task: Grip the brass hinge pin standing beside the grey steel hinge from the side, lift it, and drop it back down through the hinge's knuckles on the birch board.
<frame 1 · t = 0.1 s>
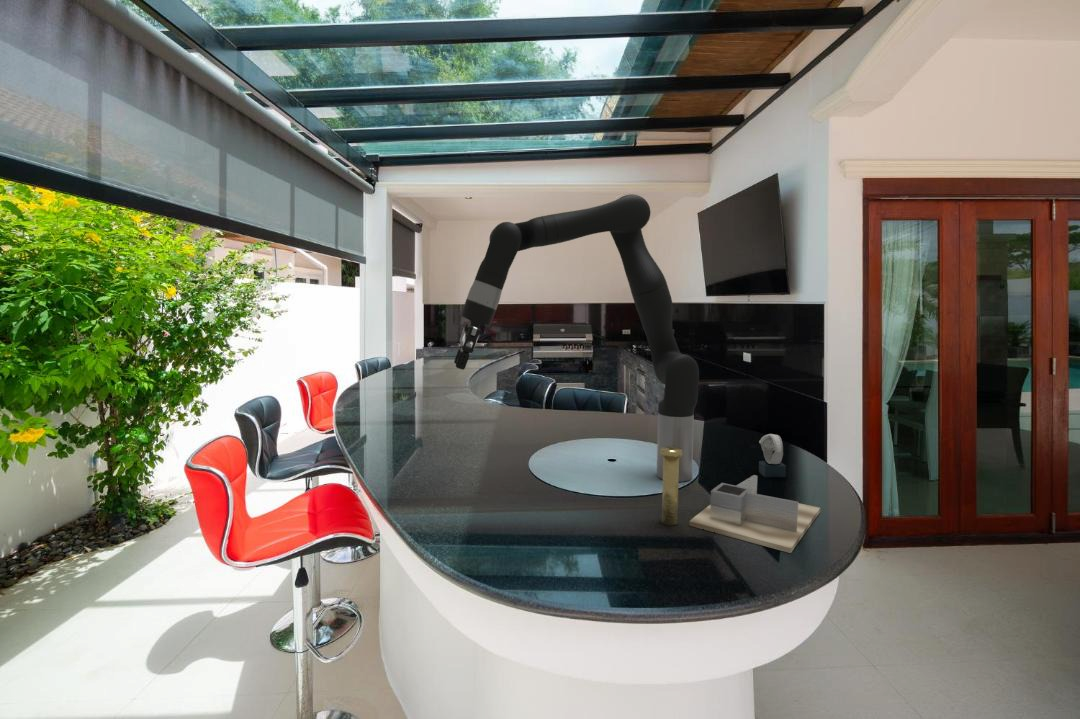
hand: (458, 366, 130), 31 cm above the worktop, tool tilted 20°, fingers open, 8 cm apart
hinge: (730, 521, 116), resting on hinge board
watch: (771, 475, 146), on the worktop
hinge pin: (669, 522, 115), on the worktop
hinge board: (756, 518, 117), on the worktop
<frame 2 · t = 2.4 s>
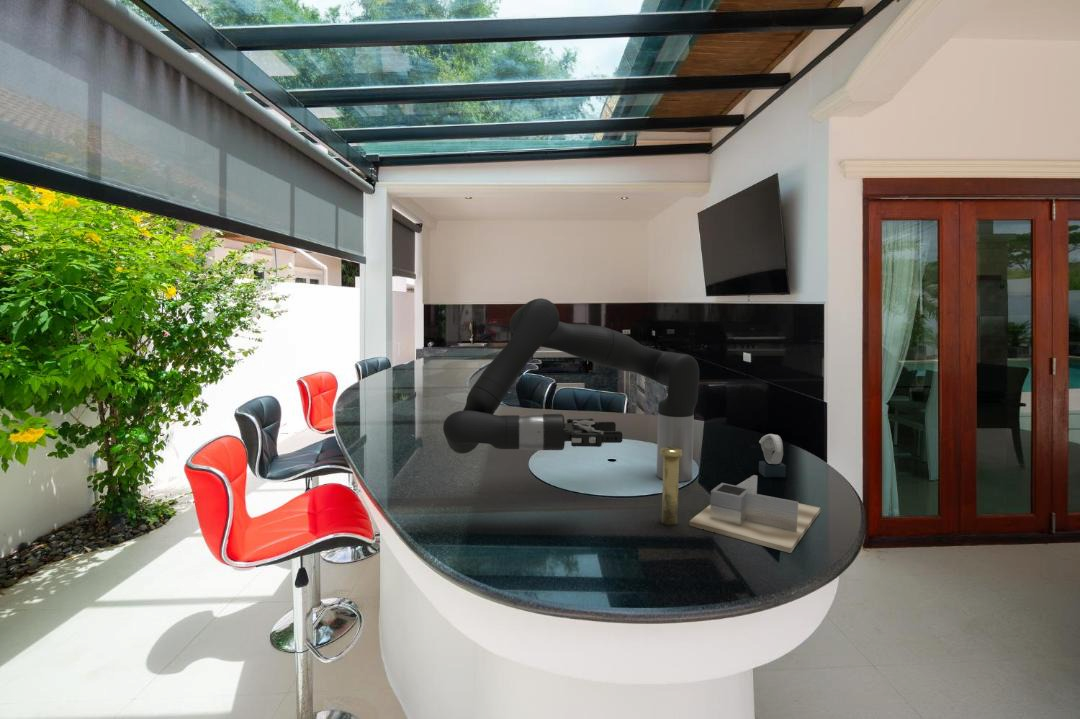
hand: (618, 431, 113), 20 cm above the worktop, tool horizontal, fingers open, 8 cm apart
nothing on the worktop moved.
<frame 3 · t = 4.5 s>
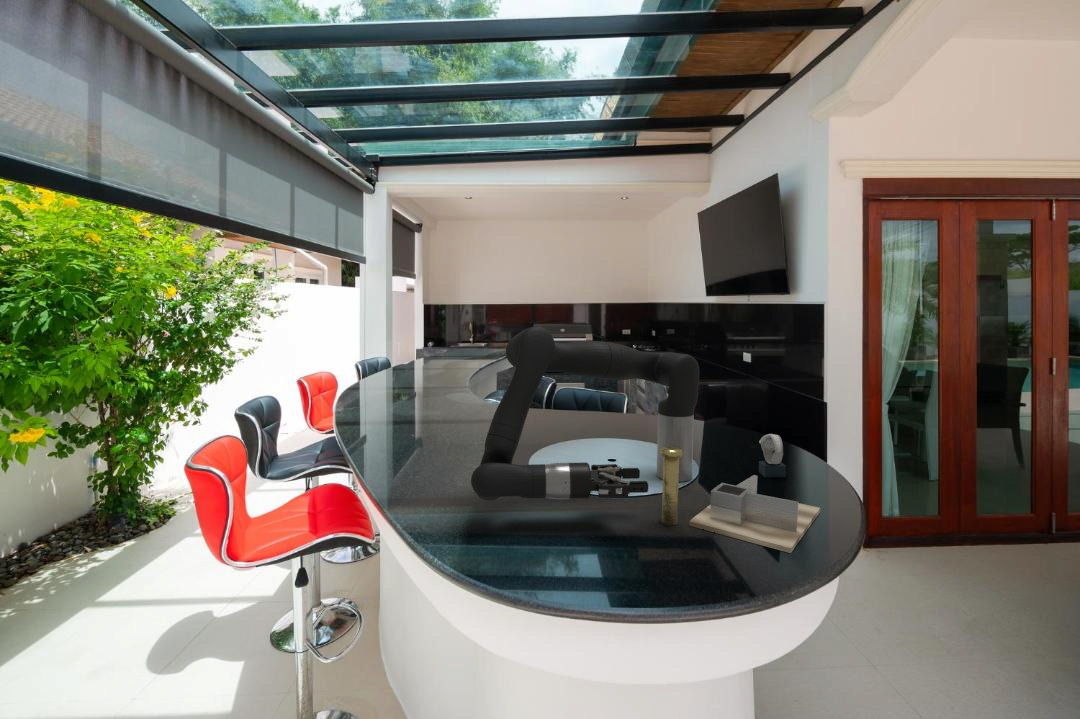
hand: (643, 479, 114), 9 cm above the worktop, tool horizontal, fingers open, 8 cm apart
nothing on the worktop moved.
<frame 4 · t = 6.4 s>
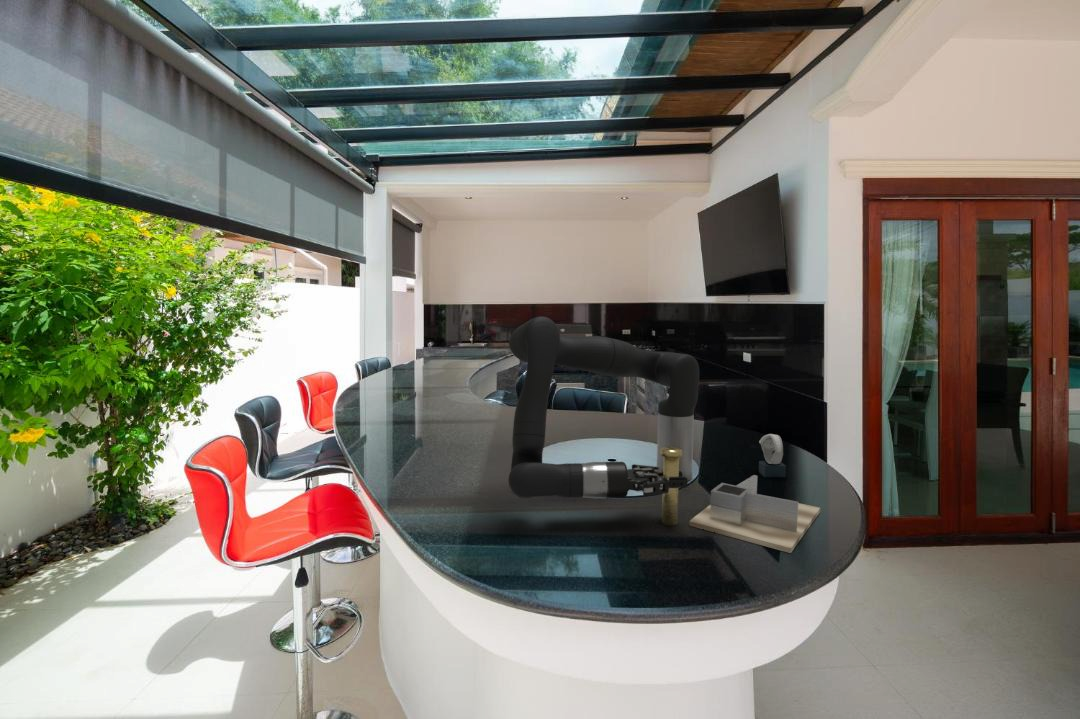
hand: (683, 479, 114), 10 cm above the worktop, tool horizontal, fingers closed on hinge pin, 3 cm apart
hinge pin: (669, 522, 115), on the worktop, touching gripper
everything else where it was.
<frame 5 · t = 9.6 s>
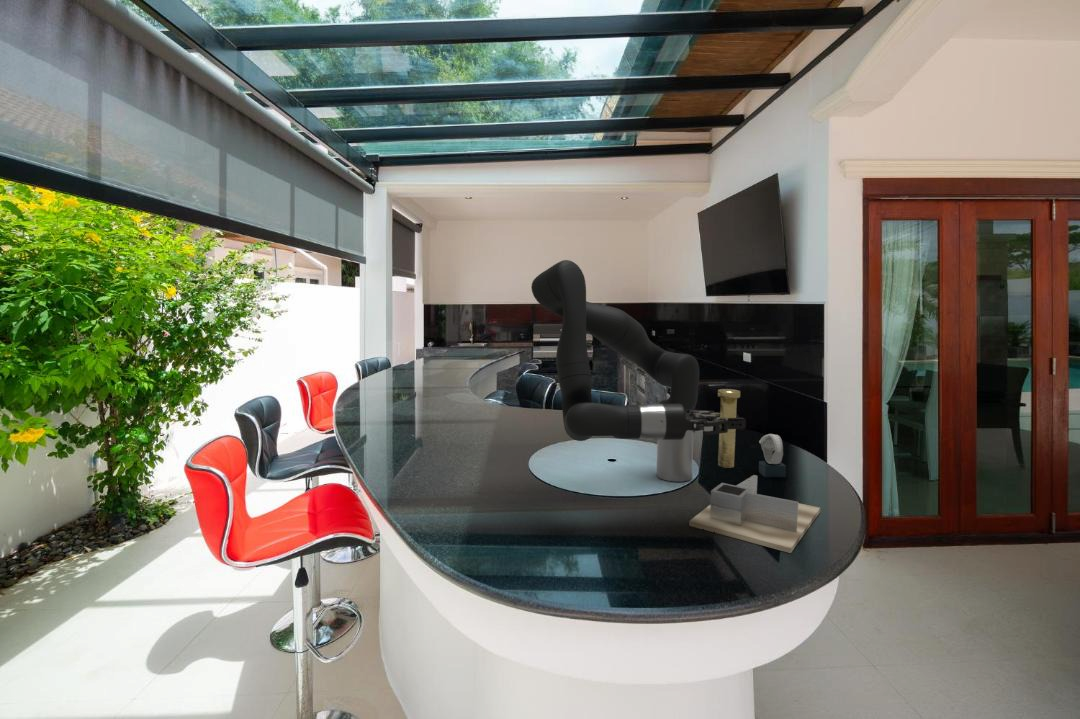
hand: (741, 421, 113), 22 cm above the worktop, tool horizontal, fingers closed on hinge pin, 3 cm apart
hinge pin: (726, 465, 114), point 12 cm above the worktop, touching gripper
everything else where it was.
when the fingers open (12 cm above the worktop, at t = 12.8 s): hinge pin drops 2 cm, resting on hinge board.
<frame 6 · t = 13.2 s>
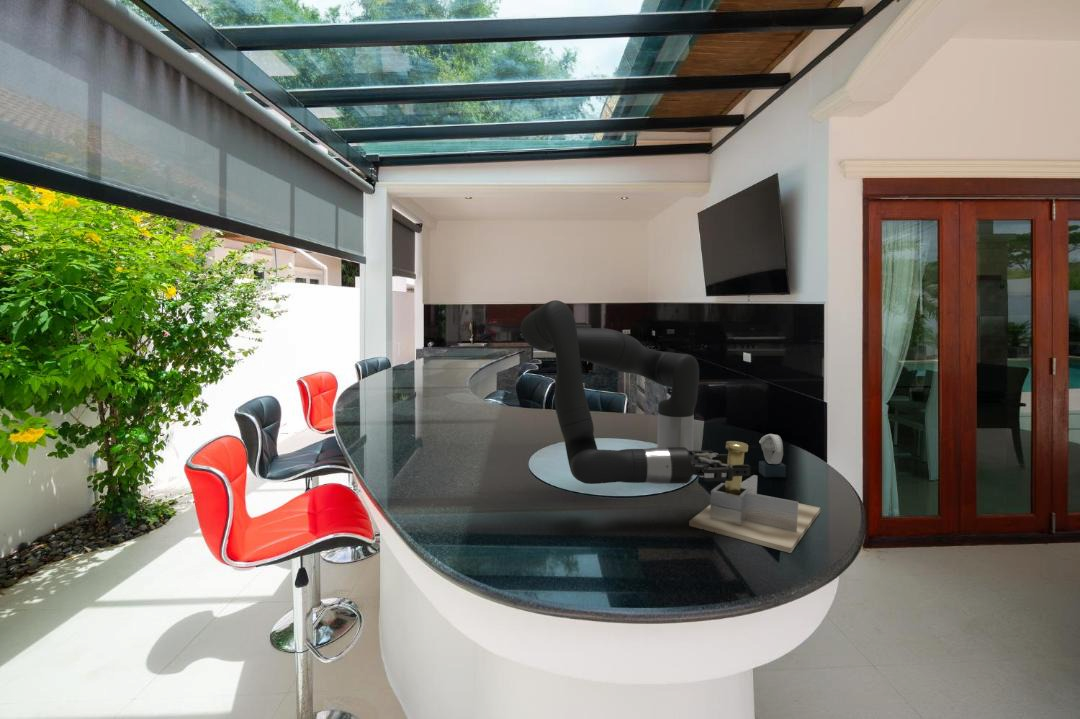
hand: (742, 464, 114), 13 cm above the worktop, tool horizontal, fingers open, 7 cm apart
hinge pin: (729, 516, 116), point 1 cm above the worktop, touching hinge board
everything else where it was.
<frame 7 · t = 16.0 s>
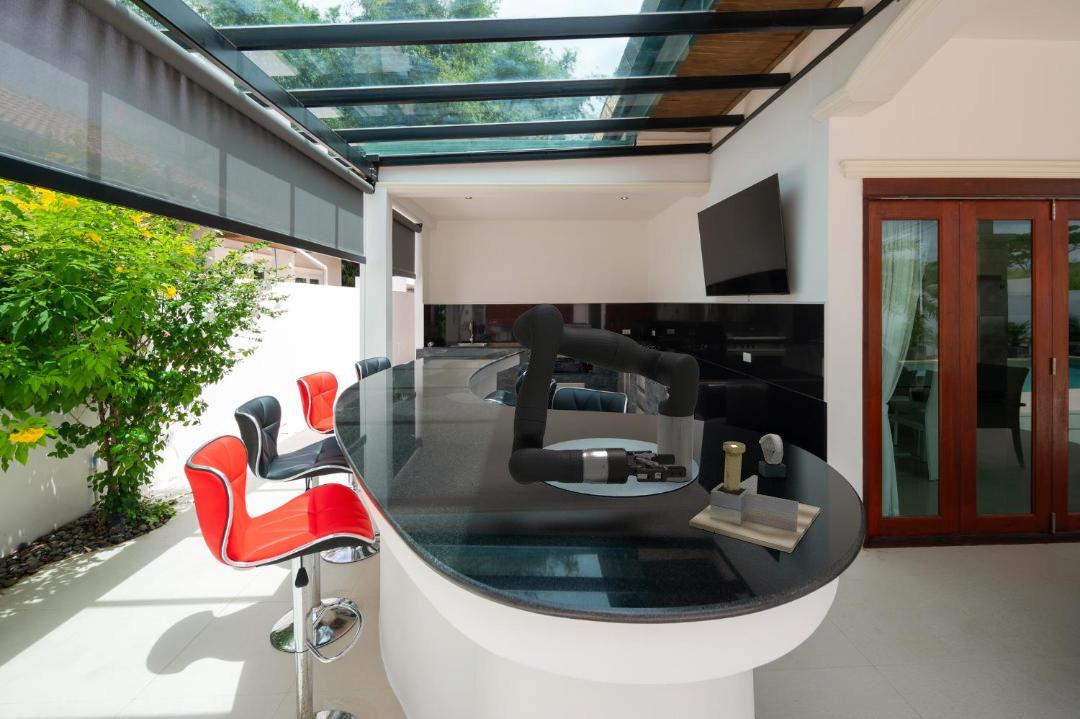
hand: (679, 465, 114), 13 cm above the worktop, tool horizontal, fingers open, 8 cm apart
nothing on the worktop moved.
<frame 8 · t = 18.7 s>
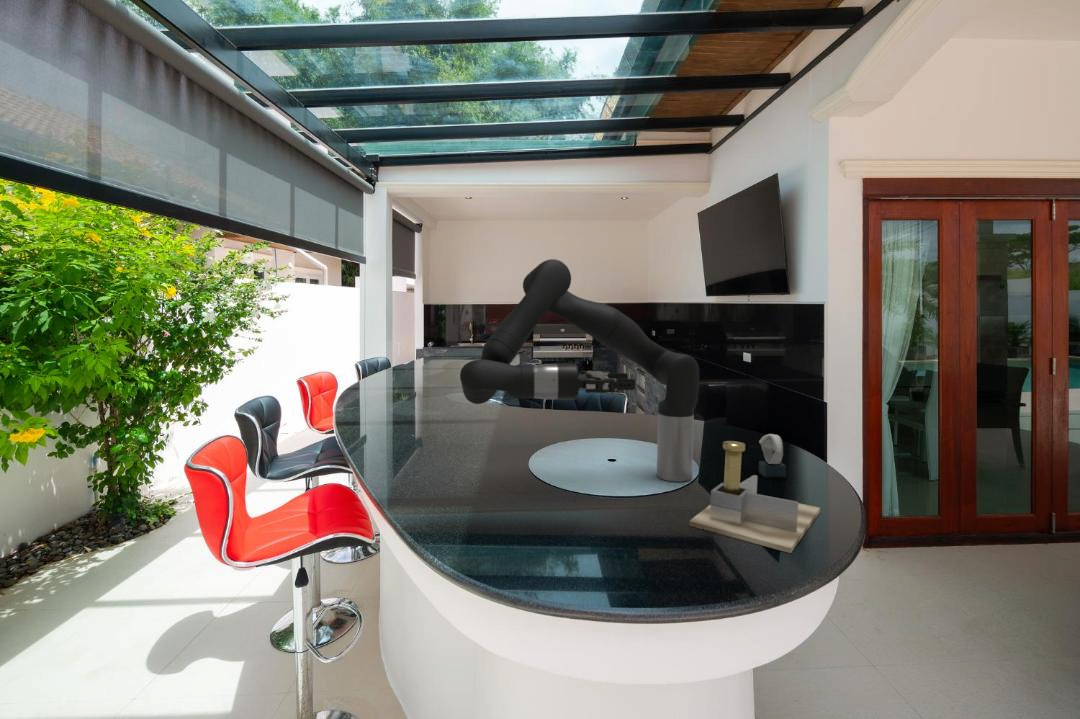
hand: (630, 381, 115), 30 cm above the worktop, tool horizontal, fingers open, 8 cm apart
nothing on the worktop moved.
at the end: hinge pin 0.1 cm off-centre on the hinge, point 1.0 cm above the hinge's base; hinge pin tilted 2°; the gripper is holding nothing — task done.
